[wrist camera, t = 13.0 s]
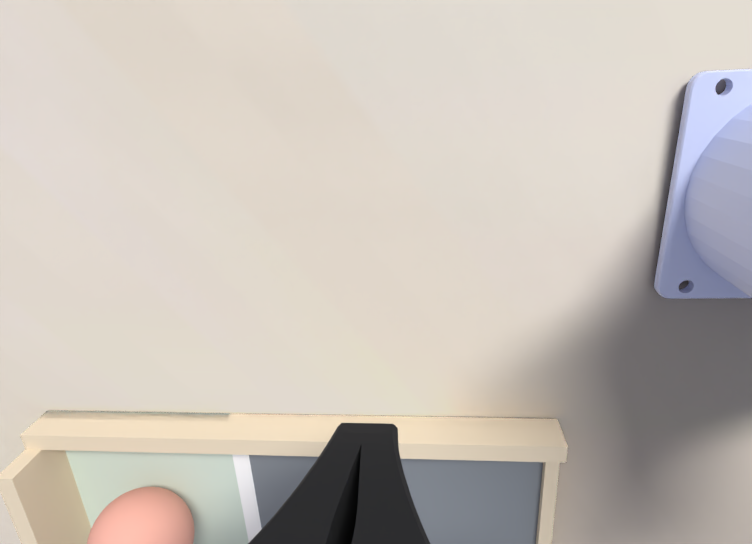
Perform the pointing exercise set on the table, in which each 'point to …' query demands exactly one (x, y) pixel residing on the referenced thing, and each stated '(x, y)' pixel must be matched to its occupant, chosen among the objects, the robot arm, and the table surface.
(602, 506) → the table surface
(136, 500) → the ball
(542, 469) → the tray
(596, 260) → the table surface
